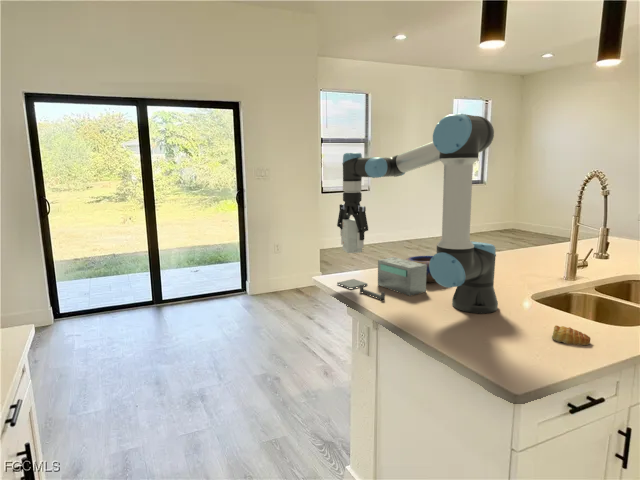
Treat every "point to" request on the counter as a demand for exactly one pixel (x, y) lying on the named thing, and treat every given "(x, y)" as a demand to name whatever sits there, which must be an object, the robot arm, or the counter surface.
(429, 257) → the bowl
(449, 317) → the counter surface
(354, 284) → the coaster
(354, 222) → the small box
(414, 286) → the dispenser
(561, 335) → the pastry
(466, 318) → the counter surface
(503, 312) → the counter surface
